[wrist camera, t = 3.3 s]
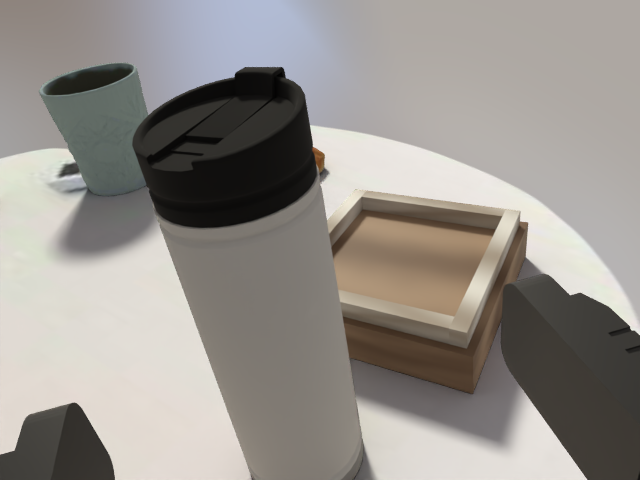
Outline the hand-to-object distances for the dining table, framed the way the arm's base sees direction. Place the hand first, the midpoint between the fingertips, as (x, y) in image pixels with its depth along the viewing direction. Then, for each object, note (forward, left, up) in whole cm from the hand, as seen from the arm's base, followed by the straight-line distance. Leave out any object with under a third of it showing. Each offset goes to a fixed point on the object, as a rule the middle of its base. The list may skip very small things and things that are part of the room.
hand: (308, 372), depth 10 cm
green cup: (+31, +46, -18) cm, 59 cm away
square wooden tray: (+22, +8, -18) cm, 30 cm away
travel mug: (+8, +8, -18) cm, 22 cm away
